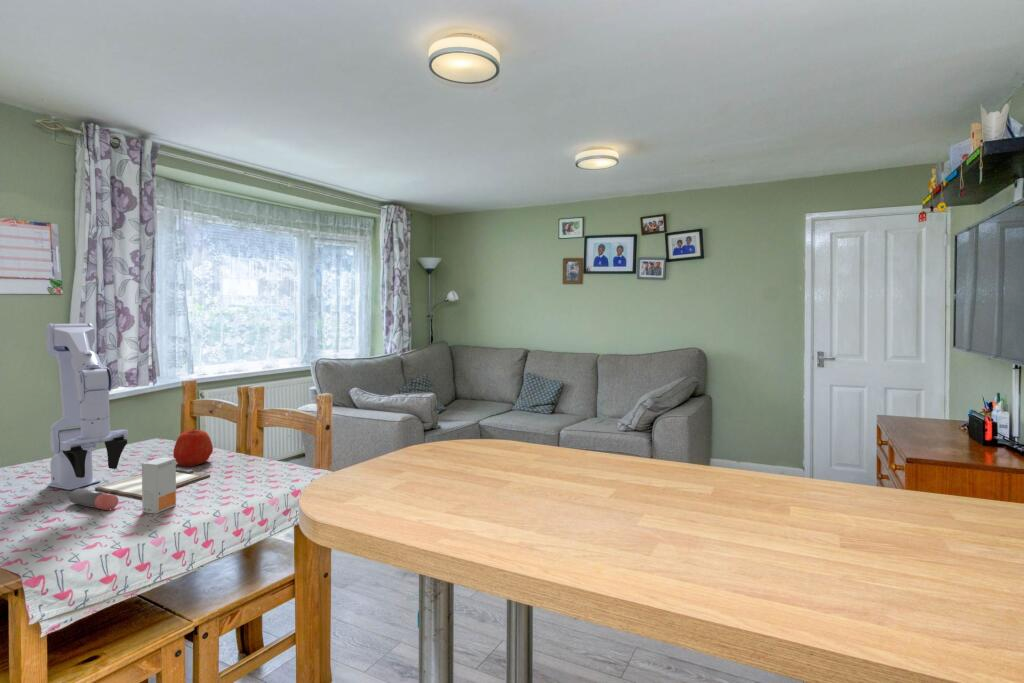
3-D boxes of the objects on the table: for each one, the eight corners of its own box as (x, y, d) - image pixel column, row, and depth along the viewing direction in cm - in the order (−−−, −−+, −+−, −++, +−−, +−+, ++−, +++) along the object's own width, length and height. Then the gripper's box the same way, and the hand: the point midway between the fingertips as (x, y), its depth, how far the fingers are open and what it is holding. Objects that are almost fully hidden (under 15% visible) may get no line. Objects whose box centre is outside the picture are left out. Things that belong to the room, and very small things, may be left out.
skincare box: (157, 514, 130) (155, 464, 129) (141, 512, 131) (140, 463, 130) (177, 505, 136) (176, 458, 135) (162, 503, 137) (161, 456, 136)
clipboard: (94, 489, 146) (94, 485, 146) (165, 469, 165) (165, 465, 165) (142, 499, 140) (142, 494, 140) (210, 476, 159) (210, 472, 158)
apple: (220, 461, 173) (219, 428, 173) (185, 470, 164) (184, 435, 163) (201, 456, 179) (200, 424, 178) (166, 464, 170) (165, 430, 169)
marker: (72, 505, 136) (63, 496, 134) (85, 494, 139) (77, 484, 137) (108, 513, 132) (99, 503, 130) (121, 501, 135) (113, 491, 133)
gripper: (73, 425, 126) (75, 483, 127) (136, 413, 139) (137, 466, 140) (53, 422, 128) (55, 479, 129) (116, 411, 142) (118, 463, 143)
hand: (97, 472), depth 135 cm, fingers open, 7 cm apart
